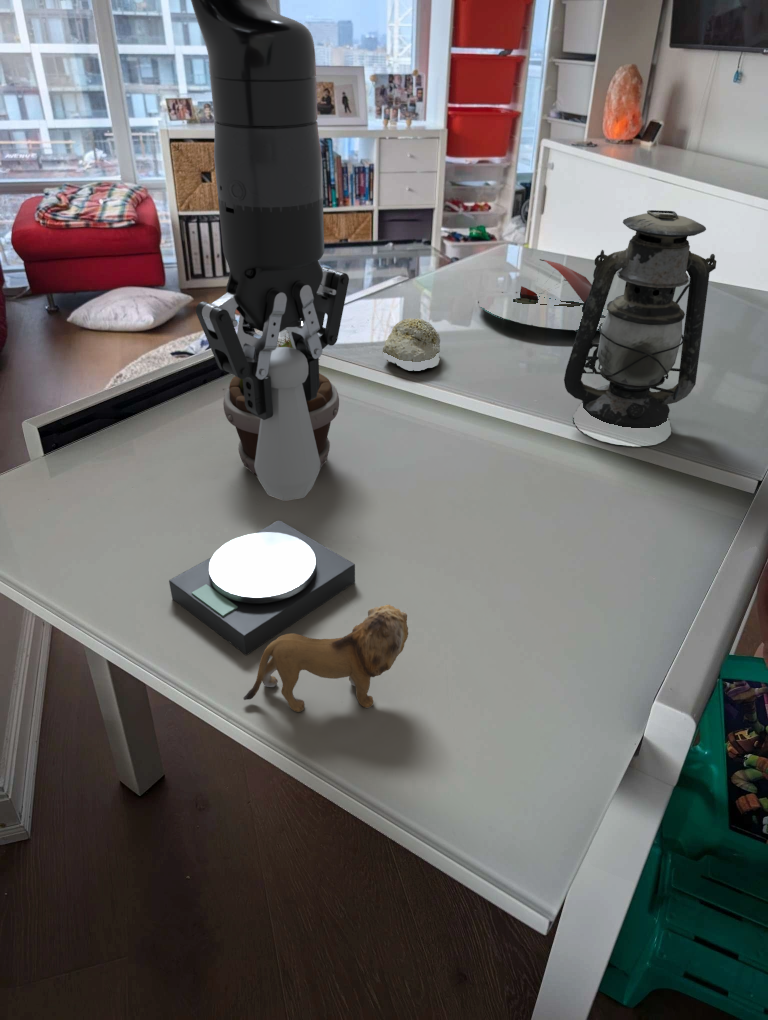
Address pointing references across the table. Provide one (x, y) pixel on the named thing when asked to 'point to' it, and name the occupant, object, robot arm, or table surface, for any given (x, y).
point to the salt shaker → (287, 431)
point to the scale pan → (262, 567)
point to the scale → (264, 620)
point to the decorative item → (413, 341)
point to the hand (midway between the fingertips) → (283, 405)
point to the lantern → (642, 323)
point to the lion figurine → (336, 655)
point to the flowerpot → (249, 424)
